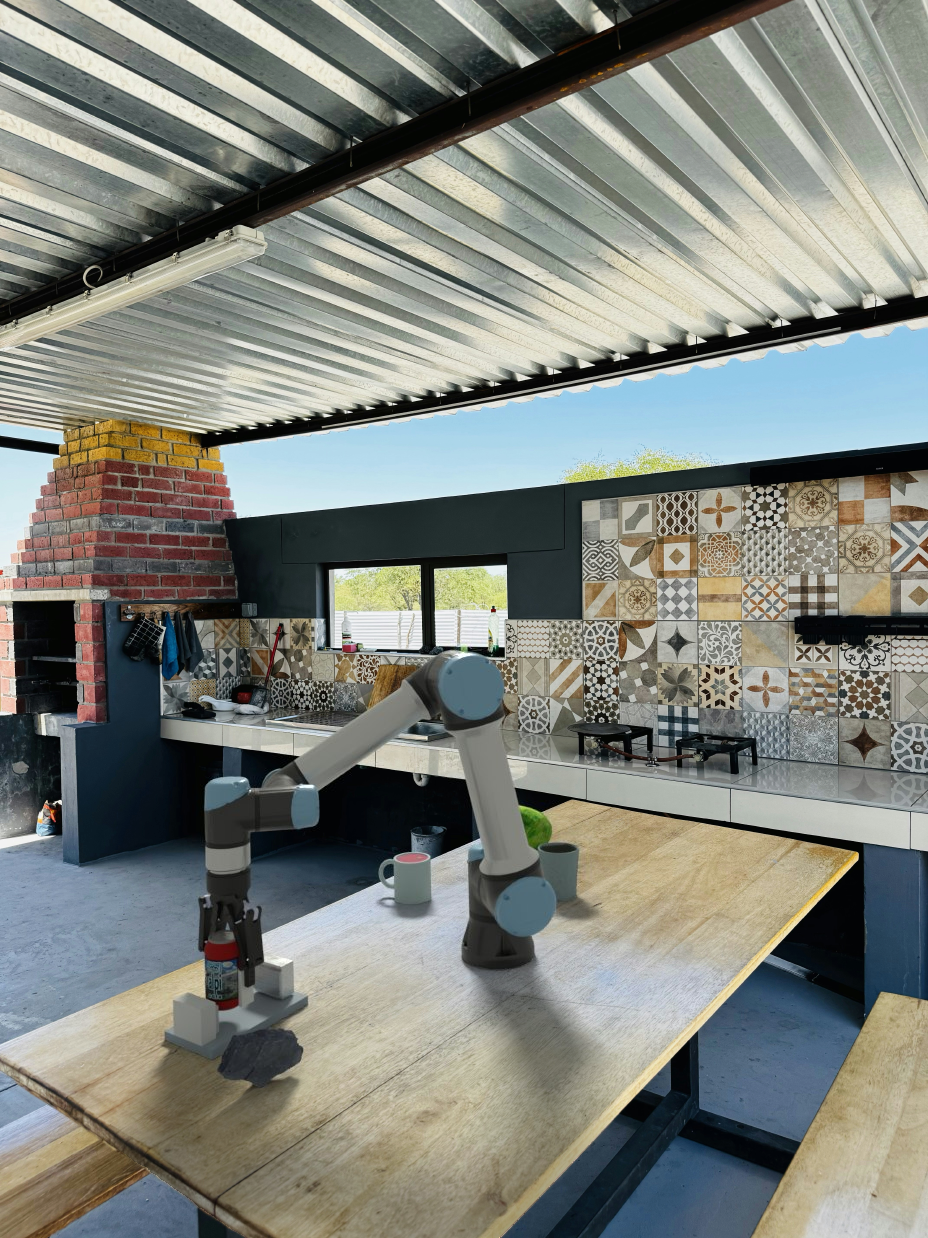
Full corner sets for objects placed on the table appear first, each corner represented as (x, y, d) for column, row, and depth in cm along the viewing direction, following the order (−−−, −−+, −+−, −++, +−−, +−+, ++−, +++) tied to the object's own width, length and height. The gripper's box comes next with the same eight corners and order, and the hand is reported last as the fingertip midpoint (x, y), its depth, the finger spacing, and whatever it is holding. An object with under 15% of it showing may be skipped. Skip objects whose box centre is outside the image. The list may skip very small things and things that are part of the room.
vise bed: (308, 1004, 154) (307, 963, 153) (212, 1060, 135) (211, 1013, 135) (262, 988, 160) (261, 949, 160) (164, 1040, 142) (163, 996, 142)
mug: (436, 893, 211) (435, 853, 211) (423, 906, 202) (422, 864, 202) (387, 888, 216) (386, 849, 216) (371, 900, 207) (370, 860, 207)
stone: (280, 1059, 135) (279, 998, 134) (309, 1069, 132) (308, 1006, 131) (215, 1106, 123) (213, 1038, 122) (246, 1117, 120) (244, 1048, 119)
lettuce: (501, 842, 256) (513, 798, 257) (556, 864, 243) (567, 818, 244) (473, 841, 244) (484, 795, 246) (528, 864, 232) (540, 816, 233)
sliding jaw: (294, 993, 154) (293, 960, 154) (279, 1001, 151) (278, 968, 151) (267, 984, 158) (266, 952, 158) (252, 992, 155) (251, 959, 155)
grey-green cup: (533, 900, 205) (532, 851, 205) (545, 886, 214) (544, 840, 214) (574, 904, 201) (573, 855, 201) (584, 891, 210) (583, 843, 210)
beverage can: (197, 1011, 143) (196, 941, 143) (218, 993, 149) (217, 926, 149) (233, 1015, 141) (232, 945, 141) (253, 997, 148) (251, 929, 148)
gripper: (284, 870, 144) (287, 1004, 144) (208, 853, 154) (210, 977, 155) (251, 883, 137) (254, 1022, 138) (174, 864, 148) (177, 993, 149)
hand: (231, 998), depth 146 cm, fingers closed on beverage can, 7 cm apart
